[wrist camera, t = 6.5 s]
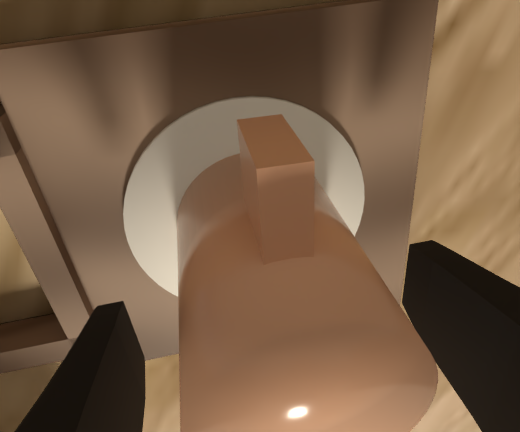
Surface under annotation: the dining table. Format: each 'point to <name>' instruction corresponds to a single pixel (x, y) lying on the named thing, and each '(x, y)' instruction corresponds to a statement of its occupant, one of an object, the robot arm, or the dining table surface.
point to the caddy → (197, 147)
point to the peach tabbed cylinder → (286, 304)
